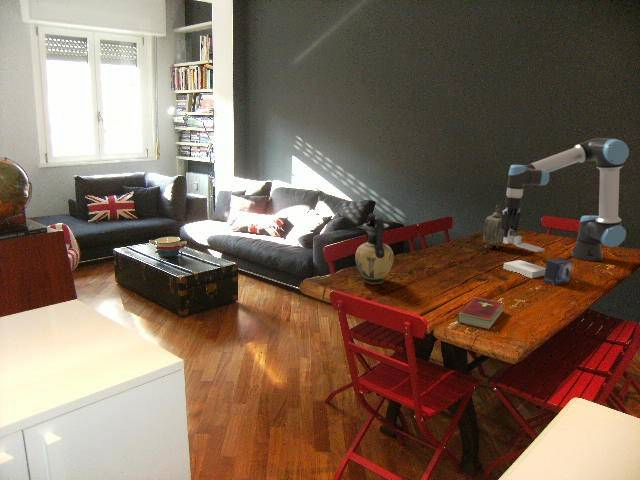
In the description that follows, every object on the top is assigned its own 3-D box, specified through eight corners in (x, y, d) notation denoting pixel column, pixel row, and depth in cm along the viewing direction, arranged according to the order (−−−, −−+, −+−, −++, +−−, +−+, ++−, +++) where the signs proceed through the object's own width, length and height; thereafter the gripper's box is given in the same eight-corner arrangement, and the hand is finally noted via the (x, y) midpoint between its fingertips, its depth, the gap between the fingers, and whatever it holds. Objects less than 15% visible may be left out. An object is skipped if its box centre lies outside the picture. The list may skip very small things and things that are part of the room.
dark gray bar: (495, 240, 270) (497, 228, 269) (503, 239, 274) (505, 227, 272) (536, 252, 251) (538, 239, 249) (544, 250, 254) (546, 238, 253)
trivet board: (503, 268, 265) (503, 262, 264) (519, 265, 271) (519, 259, 271) (531, 278, 252) (532, 272, 251) (547, 274, 258) (548, 268, 257)
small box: (554, 285, 242) (557, 263, 240) (542, 281, 248) (545, 259, 245) (570, 282, 247) (573, 261, 244) (558, 278, 253) (561, 257, 250)
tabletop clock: (490, 243, 313) (495, 201, 307) (505, 246, 308) (510, 203, 302) (481, 248, 302) (486, 205, 296) (497, 251, 297) (502, 207, 291)
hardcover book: (456, 323, 198) (457, 312, 197) (472, 306, 215) (473, 296, 214) (489, 330, 192) (491, 319, 191) (503, 312, 209) (504, 302, 208)
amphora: (347, 276, 245) (350, 212, 237) (379, 273, 251) (383, 210, 244) (365, 289, 229) (369, 220, 222) (399, 285, 236) (404, 218, 228)
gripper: (517, 194, 269) (511, 239, 275) (497, 196, 261) (491, 242, 267) (530, 197, 263) (523, 243, 269) (509, 198, 255) (503, 246, 261)
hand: (507, 242), depth 268 cm, fingers closed on dark gray bar, 2 cm apart
